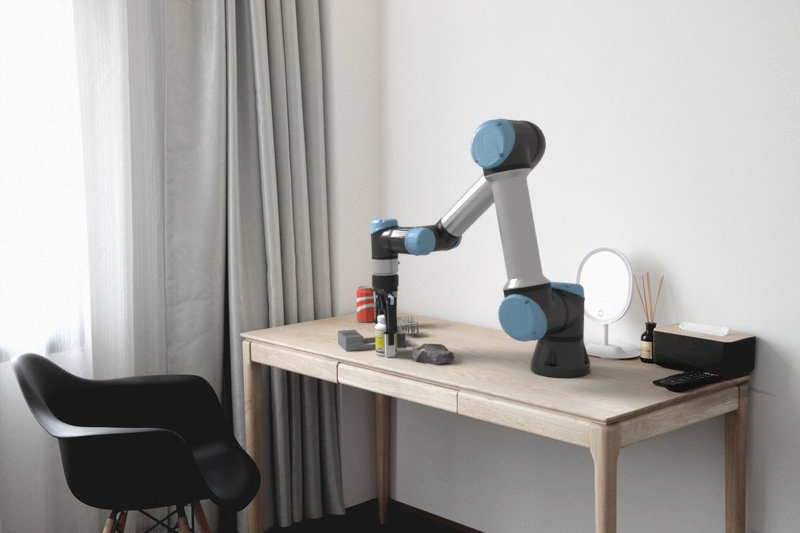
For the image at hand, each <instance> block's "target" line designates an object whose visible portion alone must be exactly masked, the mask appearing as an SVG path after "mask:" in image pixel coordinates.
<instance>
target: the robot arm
mask: <svg viewBox="0 0 800 533" xmlns="http://www.w3.org/2000/svg"><path fill="white" fill-rule="evenodd" d="M469 146H470V148H469V149H470V150H469V151H470V154H471V158H472V160H473V162H474V163H476V164H477V165H478V166H479V167H480V168H482V171H483V172H482V173H483V174H482V175H480V177H479V178H477V180H476V181H475V182H474V183H473V184H472V185H471V186H470V187H469V188H468V189H467V190H466V192H465V193H464V194H462V195H461V197H460V198H459V199H458V200H457V201H456V202H455V203H454V204H453V205H452V206H451V207H450V208H449V209H448V210H447V212H446V213H445V214H443V215H442V216H441V218H440V219H438V221H437V222H436V223H435V224H430V225H428V224H427V225H421V226H399V221H398V219H397V218H389V217H387V218H375V219H373V220H372V221H371V226H370V242H371V246H370V247H371V258H370V260H371V261H370V262H371V264H370V265H371V273H373V274H372V275H371V287H373V288H376V289H379V290H378V291H375V298H376V301H375V320H374V324H375V325H376V324H378V319H377V318H378V316H379V315H384V317H385V326H386V332H384V334H385V356H384V357H386V358H391V357H396V355H395V333H397V332H398V329H397V328H398V324H397V321H398V314H397V313H398V311H396V300H397V301H398V297H397V298H396V297H394V294H393V292H392V289H393V288H397V287H399V281H400V278H399V274H398V272H399V265H400V264H401V262H400V261H399V254H400V255H401V254H402V255H411V256H412V255H413V256H417V257H419V256H428V255H431V253H436V252H447V251H450V250H453V249H456V248H457V247H459V246H460V244H461V242H462V239H463V234H465V232H466V231H467V230H469V228H470V227H471V226H473V224H474V223H476V222H477V221H478V220H479V218H481V217H482V215H483V214H484V213H486V212H487V211H488V210H489V208H490V207H491V206H493V204H494V205H495V212H496V218H497V225H498V229H499V234H500V235H499V236H500V241H501V247H502V254H503V259H504V266H505V272H506V276H507V278H506V279H507V282H506V283H505V285H504V286H503V287H502V291H503V296H504V297H503V298H504V299H503V300H502V301H501V303H500V305H499V306H498V310H497V311H498V312H497V313H498V314H497V315H498V316H497V317H498V321H499V325H500V326H501V328H502V330H503V332H505V334H507V335H508V336H509V337H510V338H511V339H513V340H516V341H517V342H525V343H527V342H532V341H536V344H535V348H534V351H533V354H532V357H531V359H530V371H531V372H532V373H534V374H537V375H540V376H545V377H553V378H577V377H582V376H586V375H588V374H590V373H591V361H590V357H589V354H588V351H587V349H586V344H585V341H584V340H585V301H586V297H585V289H584V286H583V285H582V284H579V283H571V282H563V281H562V282H560V281H551V280H550V279H548V277H546V276H545V275H544V273H543V268H542V261H541V256H540V249H539V244H538V240H537V239H538V238H537V232H536V227H535V222H534V215H533V209H532V202H531V197H530V196H531V195H530V191H529V185H528V180H527V178H528V176H529V175H530V173H532V171H533V170H534V169H535V168H536V167H537V166H538V165H539V163H540V162H541V160H542V159H543V157H544V155H545V153H546V148H547V142H546V136H545V134H544V132H543V130H542V129H541V128H540V127H539V126H538V125H537V124H535V123H534V122H531V121H530V120H517V119H506V118H498V119H489V120H486V121H483V122H482V123H481V124H480V125H479V126H477V128H476V129H475V131H474V133H473V134H472V137H471V138H470V145H469ZM391 328H392V329H391Z"/></svg>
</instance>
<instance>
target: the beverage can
mask: <svg viewBox="0 0 800 533" xmlns="http://www.w3.org/2000/svg"><path fill="white" fill-rule="evenodd" d="M356 321H358V322H359V323H364V324H367V323H369V324H370V323H373V321H375V307H374V292H373V287H372V285H362V286H357V289H356Z"/></svg>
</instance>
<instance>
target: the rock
mask: <svg viewBox="0 0 800 533" xmlns="http://www.w3.org/2000/svg"><path fill="white" fill-rule="evenodd" d="M411 356H412V358H413V360H414V361H416V362H420V363H425V364H430V365H431V364H432V365H436V366H437V365H442V364H449V365H451V364H453V363H454V360H455V353H454V352H452V350H451V351H450V350H449V349H448V348H447V347H446V346H445V345H443V344H440V343H423V344H421V345H420V346H418V347H413V348H412V350H411Z"/></svg>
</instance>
